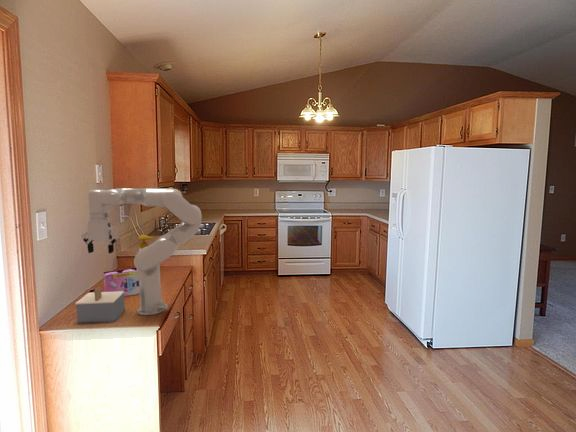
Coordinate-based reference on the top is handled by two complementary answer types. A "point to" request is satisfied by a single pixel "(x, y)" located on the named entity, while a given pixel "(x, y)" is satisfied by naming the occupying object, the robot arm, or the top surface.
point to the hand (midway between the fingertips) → (101, 252)
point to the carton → (100, 311)
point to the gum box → (122, 281)
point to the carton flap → (100, 297)
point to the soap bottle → (144, 241)
